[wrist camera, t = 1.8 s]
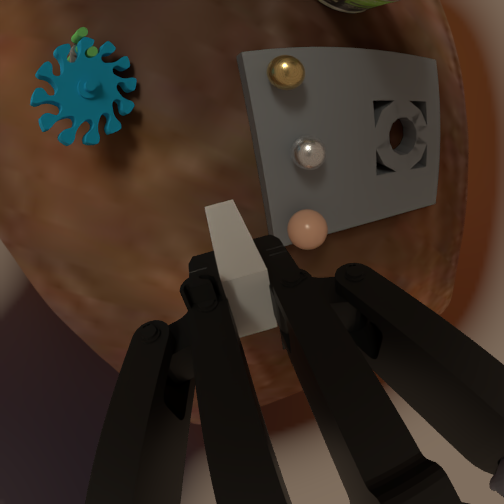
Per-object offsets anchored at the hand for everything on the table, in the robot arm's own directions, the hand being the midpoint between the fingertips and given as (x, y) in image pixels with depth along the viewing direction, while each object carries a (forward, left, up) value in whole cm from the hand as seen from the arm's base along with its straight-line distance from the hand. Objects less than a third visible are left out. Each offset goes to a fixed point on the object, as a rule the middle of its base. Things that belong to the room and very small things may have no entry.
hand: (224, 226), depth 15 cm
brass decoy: (-8, +8, -10) cm, 15 cm away
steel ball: (0, +9, -10) cm, 13 cm away
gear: (-11, -8, -14) cm, 20 cm away
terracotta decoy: (+7, +8, -9) cm, 14 cm away
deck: (0, +16, -14) cm, 21 cm away
